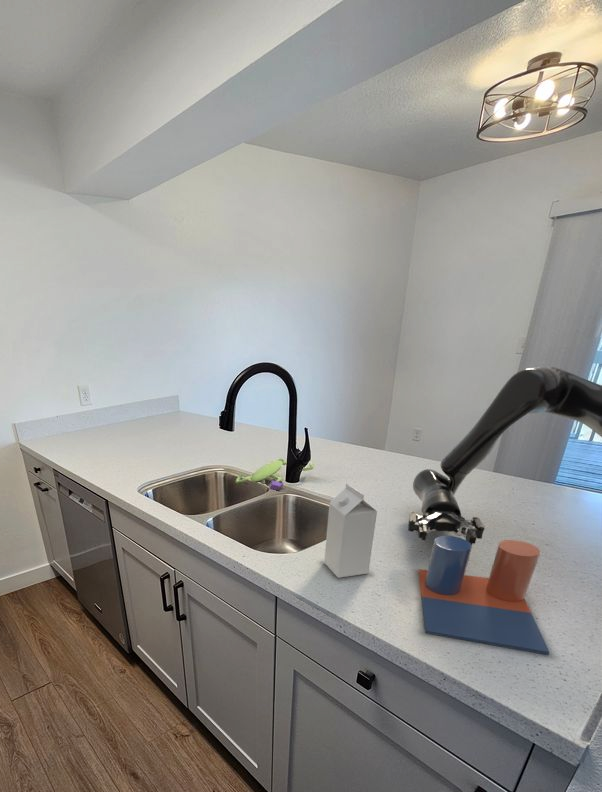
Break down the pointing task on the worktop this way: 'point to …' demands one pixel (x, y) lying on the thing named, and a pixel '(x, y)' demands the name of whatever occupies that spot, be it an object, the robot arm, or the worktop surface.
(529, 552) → the terracotta crock
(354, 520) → the milk carton
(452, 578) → the blue crock
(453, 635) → the sorting mat
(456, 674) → the worktop surface
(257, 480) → the figurine
